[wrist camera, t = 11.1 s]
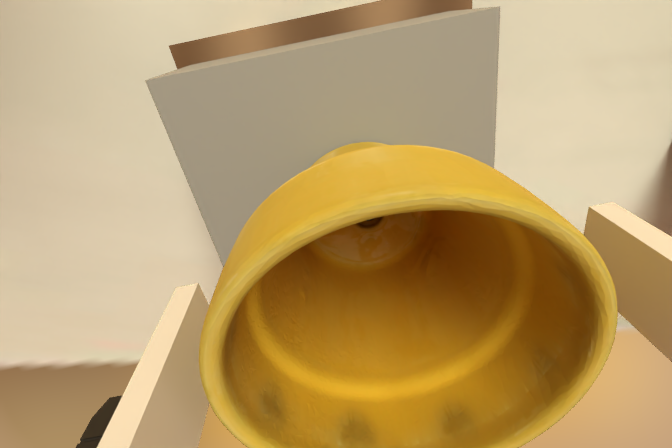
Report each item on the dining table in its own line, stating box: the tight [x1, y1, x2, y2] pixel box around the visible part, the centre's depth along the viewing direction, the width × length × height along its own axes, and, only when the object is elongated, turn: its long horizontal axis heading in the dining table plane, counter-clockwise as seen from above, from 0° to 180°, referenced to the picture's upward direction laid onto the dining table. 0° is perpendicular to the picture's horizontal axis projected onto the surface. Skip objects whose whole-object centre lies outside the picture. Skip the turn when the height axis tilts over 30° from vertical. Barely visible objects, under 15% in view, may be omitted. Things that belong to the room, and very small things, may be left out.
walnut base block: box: [169, 0, 472, 69], centre depth 25 cm, size 16×16×6 cm
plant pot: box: [199, 142, 618, 448], centre depth 13 cm, size 10×10×10 cm
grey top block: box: [145, 7, 500, 267], centre depth 20 cm, size 14×14×6 cm
